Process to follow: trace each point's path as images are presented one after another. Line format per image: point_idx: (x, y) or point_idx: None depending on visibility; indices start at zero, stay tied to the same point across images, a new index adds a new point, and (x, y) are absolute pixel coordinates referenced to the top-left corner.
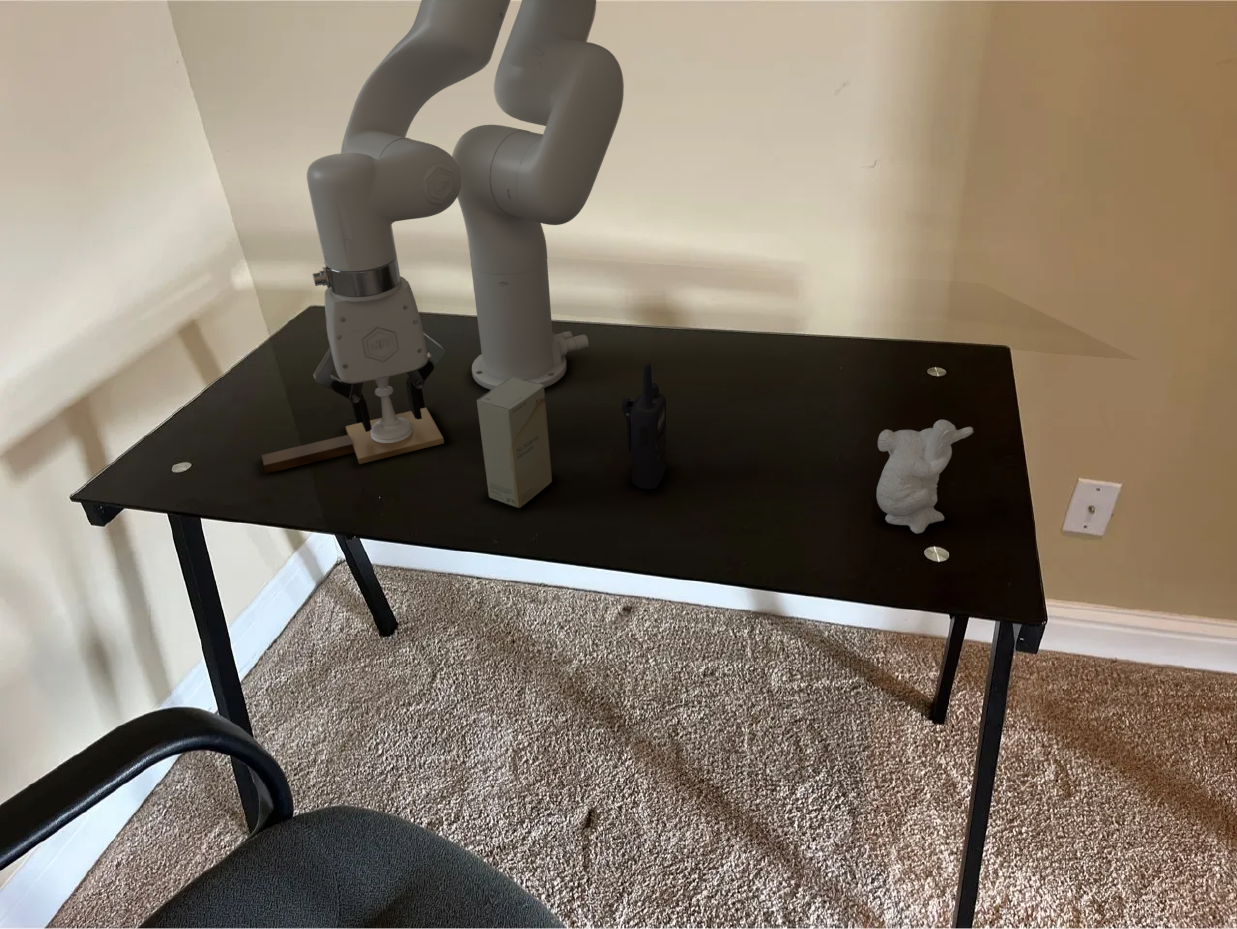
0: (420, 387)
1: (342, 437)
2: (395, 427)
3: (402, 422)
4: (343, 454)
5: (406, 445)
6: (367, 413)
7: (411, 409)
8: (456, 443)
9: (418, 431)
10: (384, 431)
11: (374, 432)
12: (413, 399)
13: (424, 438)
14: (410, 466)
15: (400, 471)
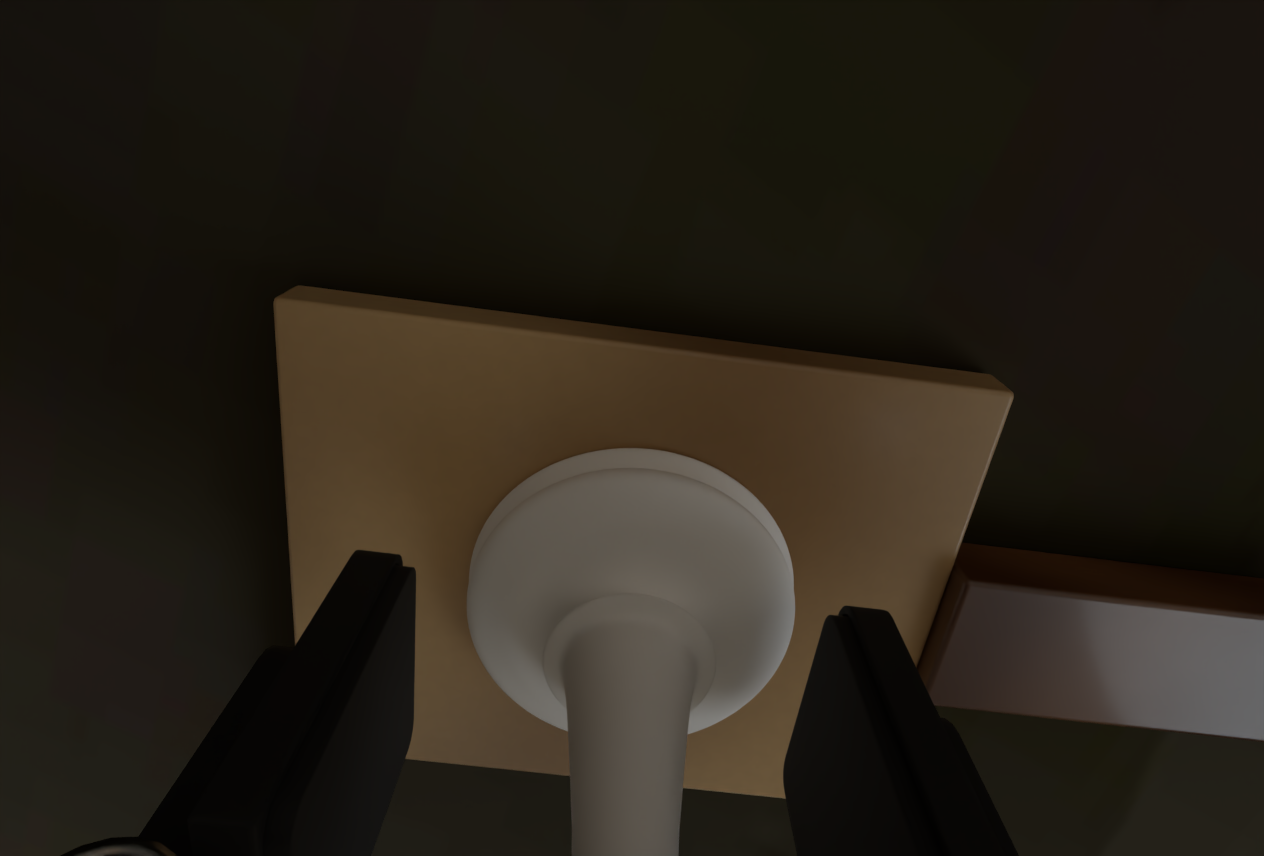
0: (120, 850)
1: (979, 692)
2: (613, 573)
3: (531, 616)
4: (1020, 549)
5: (600, 358)
6: (891, 750)
7: (406, 701)
8: (197, 227)
9: (442, 501)
10: (712, 575)
11: (779, 612)
12: (321, 724)
13: (428, 377)
14: (667, 101)
15: (774, 73)
